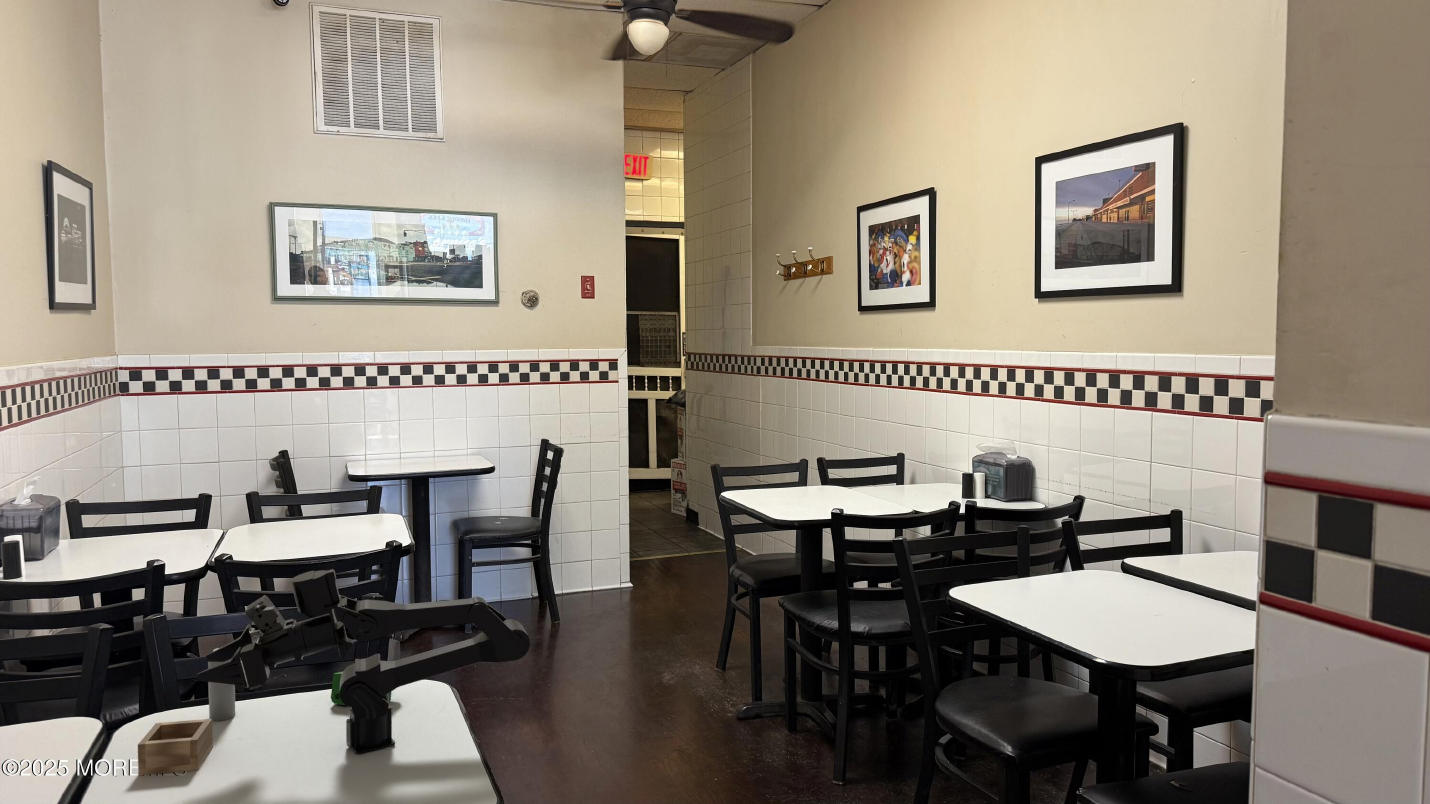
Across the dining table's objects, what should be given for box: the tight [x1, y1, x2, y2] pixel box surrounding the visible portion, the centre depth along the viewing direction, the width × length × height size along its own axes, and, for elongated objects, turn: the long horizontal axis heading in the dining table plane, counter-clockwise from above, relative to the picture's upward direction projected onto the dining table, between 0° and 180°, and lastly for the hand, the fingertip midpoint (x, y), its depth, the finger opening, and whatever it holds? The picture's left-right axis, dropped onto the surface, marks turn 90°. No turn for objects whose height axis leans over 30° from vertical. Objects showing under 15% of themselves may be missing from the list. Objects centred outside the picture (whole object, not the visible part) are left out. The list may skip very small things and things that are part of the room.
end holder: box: [137, 718, 214, 776], centre depth 150 cm, size 8×8×5 cm
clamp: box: [330, 671, 393, 706], centre depth 177 cm, size 12×6×9 cm, turn 74°
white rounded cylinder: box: [207, 647, 236, 722], centre depth 168 cm, size 4×4×12 cm
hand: (202, 667), depth 148 cm, fingers open, 9 cm apart
